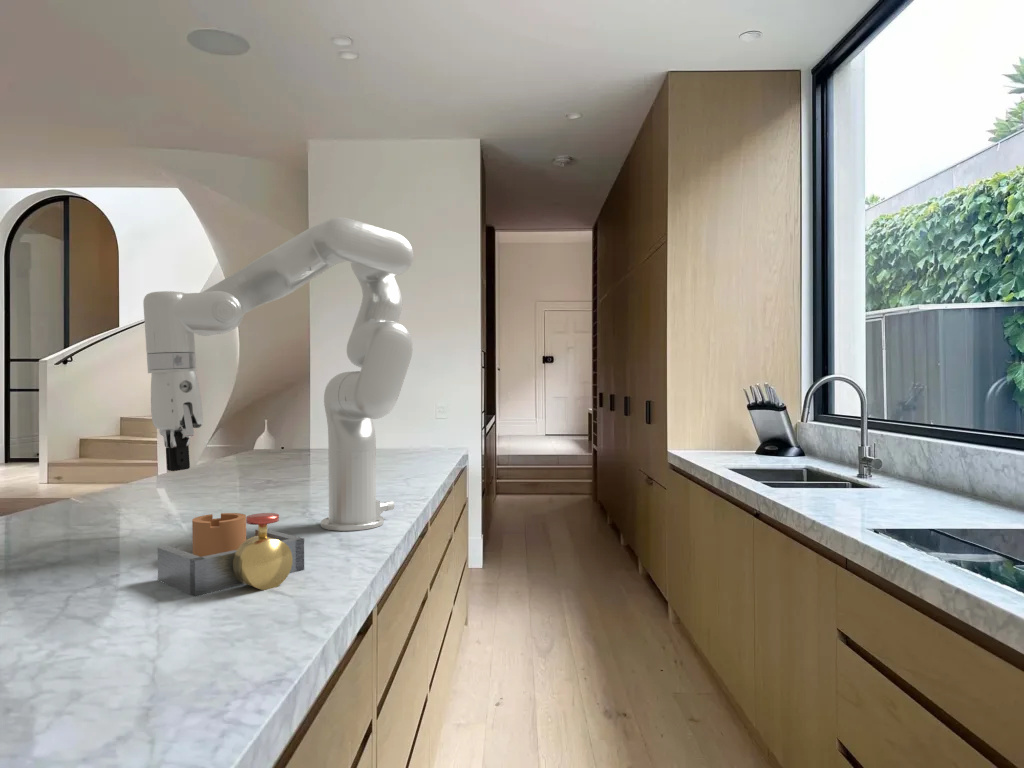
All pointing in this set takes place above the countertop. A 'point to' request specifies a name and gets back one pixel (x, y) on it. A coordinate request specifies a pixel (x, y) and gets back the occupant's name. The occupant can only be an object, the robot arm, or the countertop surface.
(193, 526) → the bracket
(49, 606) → the countertop surface
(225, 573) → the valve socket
